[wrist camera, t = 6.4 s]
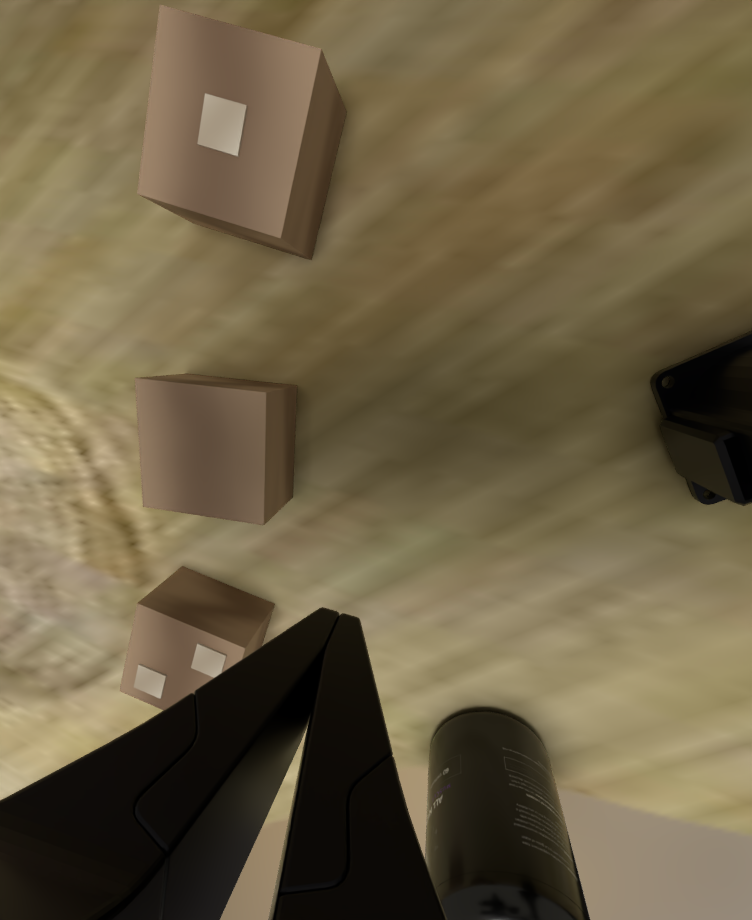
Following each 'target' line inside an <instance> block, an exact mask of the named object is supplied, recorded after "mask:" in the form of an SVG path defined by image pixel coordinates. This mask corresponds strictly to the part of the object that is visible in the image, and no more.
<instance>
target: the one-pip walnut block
mask: <svg viewBox="0 0 752 920" xmlns="http://www.w3.org/2000/svg"><path fill="white" fill-rule="evenodd" d="M346 113H347V112H346V109H345V107H344V104H343V102H342V99H341V97H340V94H339V92H338V89H337V87H336V84H335V82H334V79H333V77H332V74H331V72H330V69H329V67H328V64H327V62H326V59H325V57H324V54H323V52H322V49H320V48H316V47H313V46H309V45H305V44H302V43H298V42H294V41H291V40H287V39H283V38H280V37H276V36H273V35H269V34H265V33H262V32H258V31H254V30H251V29H247V28H243V27H240V26H236V25H232V24H229V23H225V22H221V21H218V20H214V19H211V18H207V17H203V16H200V15H196V14H192V13H189V12H185V11H181V10H178V9H174V8H170V7H167V6H163V5H160V8H159V16H158V24H157V33H156V41H155V50H154V58H153V66H152V75H151V83H150V91H149V100H148V108H147V116H146V125H145V133H144V141H143V150H142V158H141V166H140V175H139V183H138V192H137V194H138V195H140V196H142V197H144V198H146V199H148V200H150V201H152V202H154V203H156V204H158V205H160V206H161V207H163V208H165V209H167V210H169V211H171V212H173V213H175V214H177V215H179V216H181V217H183V218H185V219H186V220H188V221H190V222H192V223H194V224H198V225H201V226H204V227H207V228H210V229H214V230H217V231H220V232H223V233H226V234H230V235H233V236H236V237H239V238H242V239H246V240H249V241H252V242H255V243H258V244H262V245H265V246H268V247H271V248H274V249H278V250H281V251H284V252H287V253H290V254H294V255H297V256H300V257H303V258H306V259H309V260H312V255H313V251H314V247H315V243H316V239H317V234H318V230H319V226H320V222H321V218H322V213H323V209H324V205H325V201H326V197H327V192H328V188H329V184H330V180H331V176H332V171H333V167H334V163H335V159H336V155H337V150H338V146H339V142H340V138H341V134H342V129H343V125H344V121H345V117H346Z"/></svg>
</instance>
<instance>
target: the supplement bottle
mask: <svg viewBox="0 0 752 920" xmlns="http://www.w3.org/2000/svg"><path fill="white" fill-rule="evenodd" d="M426 828H427V829H426V854H425V861H426V864H427V867H428V869H429V872H430V875H431V877H432V880H433V883H434V886H435V888H436V891H437V894H438V896H439V899H440V902H441V905H442V907H443V910H444V913H445V915H446V918H447V920H590V917H589V914H588V910H587V906H586V902H585V898H584V894H583V890H582V886H581V882H580V878H579V874H578V871H577V867H576V863H575V858H574V855H573V851H572V847H571V843H570V839H569V835H568V831H567V827H566V823H565V820H564V816H563V811H562V808H561V804H560V800H559V796H558V792H557V788H556V784H555V780H554V776H553V773H552V769H551V765H550V762H549V758H548V755H547V752H546V750H545V748H544V746H543V744H542V743H541V741H540V740H539V738H538V737H537V736H536V735H535V734H534V733H533V732H532V731H531V730H530V729H529V728H528V727H527V726H525V725H524V724H522V723H521V722H519V721H518V720H516V719H514V718H511V717H509V716H506V715H503V714H500V713H495V712H488V711H476V712H469V713H465V714H461V715H459V716H456V717H454V718H452V719H451V720H449V721H448V722H446V723H445V724H444V725H443V726H442V727H441V728H440V729H439V730H438V732H437V733H436V734H435V736H434V738H433V741H432V743H431V747H430V754H429V770H428V799H427V826H426Z"/></svg>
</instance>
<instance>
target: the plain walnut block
mask: <svg viewBox="0 0 752 920" xmlns="http://www.w3.org/2000/svg"><path fill="white" fill-rule="evenodd" d="M135 387H136V403H137V419H138V435H139V450H140V466H141V482H142V498H143V507H148V508H155V509H161V510H168V511H174V512H181V513H187V514H194V515H200V516H207V517H214V518H220V519H227V520H233V521H240V522H246V523H253V524H259V525H264V524H266V523H267V522H268V521H269V520H270V519H271V518H272V517H273V516H274V515H275V514H276V513H277V512H278V511H279V510H280V509H281V508H282V507H283V506H284V505H285V504H286V503H287V502H288V501H289V500H290V499H291V498H293V479H294V454H295V428H296V403H297V385H287V384H278V383H268V382H259V381H250V380H240V379H231V378H222V377H212V376H203V375H194V374H178V375H166V376H154V377H141V378H135Z"/></svg>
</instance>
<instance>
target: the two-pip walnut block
mask: <svg viewBox="0 0 752 920" xmlns="http://www.w3.org/2000/svg"><path fill="white" fill-rule="evenodd" d="M274 605H275V604H273V603H271V602H268V601H266V600H264V599H261V598H259V597H256V596H254V595H251V594H249V593H246V592H244V591H242V590H239V589H237V588H234V587H232V586H229V585H227V584H224V583H222V582H220V581H217V580H215V579H212V578H210V577H207V576H205V575H202V574H200V573H197V572H195V571H193V570H190V569H188V568H185V567H183V566H182V567H181V568H180V569H178V570H177V571H176V572H175V573H174V574H172V575H171V576H170V577H169V578H167V579H166V580H165V581H164V582H163V583H161V584H160V585H159V586H158V587H156V588H155V589H154V590H153V591H152V592H150V593H149V594H148V595H147V596H145V597H144V598H143V599H142V600H141V601H139V602H138V603H137V607H136V612H135V617H134V622H133V627H132V632H131V637H130V642H129V647H128V652H127V657H126V661H125V666H124V671H123V676H122V681H121V686H120V691H121V692H123V693H125V694H128V695H130V696H132V697H134V698H137V699H139V700H141V701H144V702H146V703H148V704H151V705H153V706H155V707H157V708H160V709H162V710H165V709H167V708H168V707H170V706H172V705H173V704H175V703H176V702H178V701H179V700H181V699H182V698H184V697H185V696H187V695H188V694H190V693H193V694H194V691H195V690H196V689H198V688H199V687H201V686H202V685H204V684H205V683H207V682H208V681H210V680H212V679H213V678H215V677H216V676H218V675H219V674H221V673H222V672H224V671H225V670H227V669H228V668H230V667H231V666H233V665H234V664H236V663H237V662H239V661H240V660H242V659H243V658H245V657H246V656H248V655H249V654H251V653H253V652H254V651H256V650H257V649H259V648H260V647H261V646H262V643H263V640H264V637H265V634H266V631H267V627H268V624H269V621H270V618H271V615H272V612H273V609H274Z"/></svg>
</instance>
